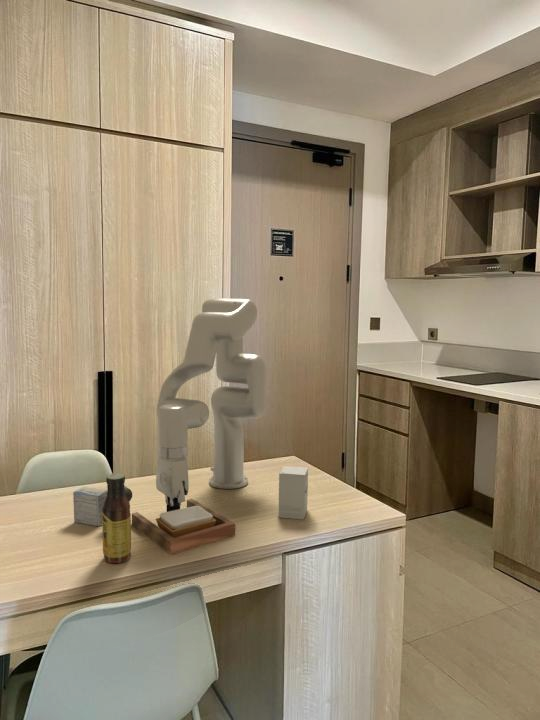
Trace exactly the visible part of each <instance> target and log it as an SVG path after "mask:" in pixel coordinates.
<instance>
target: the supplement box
mask: <svg viewBox="0 0 540 720" xmlns="http://www.w3.org/2000/svg"><path fill="white" fill-rule="evenodd" d="M278 475H279V476H278V480H279V481H278V511H277V513H278V516H277V517H278V518H284V519H292V520H293V519H294V520H304V519H305V516H306V513H307V510H308V494H309V493H308V491H309V490H308V487H309V481H308V480H309V467H304V466H290V465H289V466H288V465H283V466H282V468H281V470H280V472H279V473H278Z"/></svg>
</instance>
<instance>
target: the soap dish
mask: <svg viewBox="0 0 540 720" xmlns="http://www.w3.org/2000/svg"><path fill="white" fill-rule="evenodd" d="M155 520H156V524H157V526H158V527H159V528H160V529H162V530H163V531H165V532H166V533H168V534H169V535H170V536H172V537H173V538H176V537H180V536H183V535H187V534H190V533H193V532H197V531H200V530H204V529H207V528H211V527H214V525H215V523H216V520H215V519H214V518H213V516H212V515H211V514H210V513H209V512H207V511H206V510H204V509H203V508H201V507H199V506H192V507H187V506H186V507H183V508H180V509H178V510H173V511H169V512H167V511H166V512H161V513H159V517H157V518H156V519H155Z"/></svg>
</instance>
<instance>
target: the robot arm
mask: <svg viewBox="0 0 540 720" xmlns="http://www.w3.org/2000/svg"><path fill="white" fill-rule="evenodd" d="M257 318H258V309H257V305H256V303H255V301H253V300H252V299H247V298H225V297H224V298H221V297H220V298H215V297H214V298H209V299H207V300H205V301H204V302H203V303H202V306H201V312H200V313H198V314H196V316H194V318H193V319H192V323H191V328H190V332H189V336H188V340H187V345H186V349H185V353H184V358H183V360H182V362H181V363H180V364H179V365H177V366H176V367H175V368H174V369H173V370H172V371H171V372H170V374H169V375H168V376H167V377H166V379H165V380H164V382H163V384H162V386H161V388H160V391H159V396H158V400H157V406H156V416H157V439H158V443H157V445H158V447H157V448H158V450H157V451H158V455H157V462H156V478H155V479H156V480H155V484H156V485H155V486H156V487H155V488H156V490H157V491H159V492H160V493H161V494H162V495H164V497H165V505H166V512H169V511H173V510H178V509H181V505H182V503H185V502H186V496H188V494H189V486H190V485H189V484H190V483H189V481H190V479H189V468H188V459H187V458H188V430H189V429H190V430H191V429H198V428H200V427H202V426H204V425H205V424H206V423H207V422H208V420H209V418H210V417H209V416H210V408H209V406H208V405H207V403H205V402H204V401H201V400H198V399H187V398H179V397H177V394H178V392H179V390H180V389H181V387H182V386H183V385H184V384H186V383H187V382H188V381H190V380H192V379H195V378H197V377H199V376H201V375H203V374H206V373H208V372H211V371H212V370H213V368H214V364H215V365H216V366H215V367H216V370H215V371H216V376H217V379H218V380H219V381H221V382H223V383H228V384H229V383H230V384H243V385H247V387H241V386H221V387H220V386H219V387H217V388H215V390H214V391H212V393H211V397H210V405H211V409H212V417H213V425H214V426H213V433H214V434H213V437H214V438H213V440H214V441H213V445H214V446H213V447H214V448H213V454H214V455H213V456H214V457H213V459H214V460H213V461H214V462H213V466H211V467H210V471H211V472H213V474H212V476H211V477H210V478H209V482H208V483H209V485H210V486H211V487H214V488H218V489H222V490H228V489H229V490H232V489H239V488H240V489H241V488H243V487H246V486H247V485H248V484H249V478H248V477H247V476H246V475H244V463H245V462H244V448H245V447H244V446H245V445H244V439H245V438H244V437H245V436H244V435H245V434H244V433H245V431H244V427H243V424H242V421H241V420H240V419H241V418H242V419H253V420H254V419H255V420H257V419H261V418H262V416H263V415H264V414H265V409H266V404H267V403H266V402H267V401H266V400H267V399H266V398H267V395H266V394H267V366H266V363H265V360H264V358H263V357H262V356H261V355H259V354H254V353H245V352H244V338H243V337H244V336H245V335H246V334H247V332H248V331H249V330H251V328H252V327H253V326H254V324H255V322H256V321H257ZM239 418H240V419H239Z"/></svg>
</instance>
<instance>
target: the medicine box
mask: <svg viewBox="0 0 540 720" xmlns="http://www.w3.org/2000/svg"><path fill="white" fill-rule="evenodd" d="M72 494H73V495H72V496H73V497H72V498H73V519H74V523H77V524H83V525H88V526H95V527H102V509H103V506H104V503H105V500H106V497H107V489H103V488H94V487H89V486H88V487H87V486H83V487H80V488H78V489H76V490H74V491H73V493H72Z"/></svg>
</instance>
